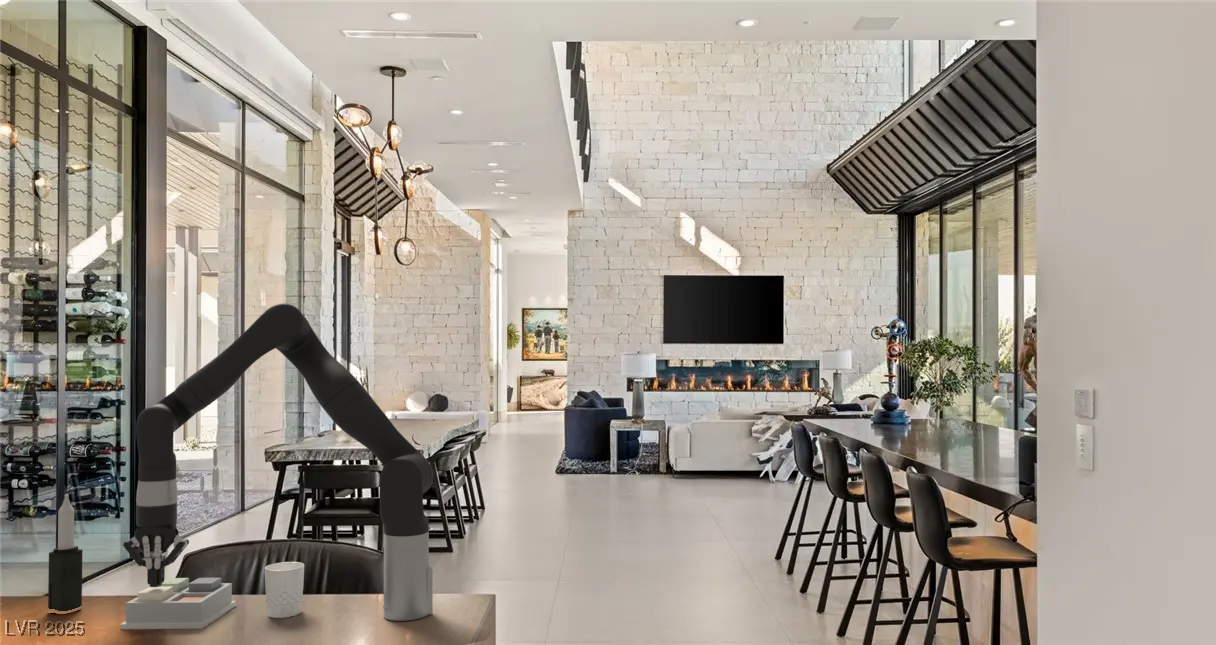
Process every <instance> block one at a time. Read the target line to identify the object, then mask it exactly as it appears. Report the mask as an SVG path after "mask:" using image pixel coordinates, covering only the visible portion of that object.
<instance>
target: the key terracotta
mask: <svg viewBox="0 0 1216 645" xmlns="http://www.w3.org/2000/svg"><path fill="white" fill-rule="evenodd" d="M202 598H204V597H184V598H182V599H180V600H178V601H199V600H201V599H202Z"/></svg>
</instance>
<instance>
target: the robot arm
mask: <svg viewBox="0 0 1216 645" xmlns="http://www.w3.org/2000/svg"><path fill="white" fill-rule="evenodd" d="M275 349H276V350H277V351H279V352H280V354H282V355H283V356H284V357H285V358H286V359H287V360H288V361H289V362H290V363H291V364H292V365H293V366H294V367H295V368H296V369H297V370H298V372H300V374H301V375H302V376H303V379H304V380H305V382H306V384H307V385H308V388H310V391H311V392H312V394H313V396H314V398H315V399H316V401H317V402H318V404H319V405H320V406H321V408H322V410H324V411H325V413H326V414H327V416H328V417H329V418H330V419H331V420H332V422H334V424H335V425H337V426H338V428H340V429H341V430H342V431H343V432H344V433H346V435H348V436H349V437H351V438H352V439H354V441H357V442H358V443H360V444H361V445H362V446H364V447H366V449H368V450H369V452H371V453H372V454H373V455H374V456H375V457H376V458H377V459H378V461H379V462H380V464H382V466H383V468H382V469H381V472H380V476H379V511H380V512H379V514H380V520H381V522H382V524H383V605H382V606H383V617H384V619H386V620H389V621H397V622H398V621H399V622H400V621H401V622H402V621H404V622H405V621H413V620H414V621H415V620H419V619H423V618H425V617H427V616H429V615H433V613H434V612H433V610H434V609H433V604H434V602H433V596H434V594H433V593H434V591H433V589H434V587H433V585H434V584H433V574H434V573H433V567H430V566H429V565H430V564H429V563H430V562H429V559H430V557H429V552H430V550H429V549H430V546H429V541H430V539H429V537H430V536H429V532H430V531H429V530H430V526H429V525H430V523H429V522H430V520H429V517H427V516H426V515H425V513H424V497H423V496H424V494H425V493H426V492H428V491H429V489H430V488H431V487H432V485H433V482H434V470H433V468H432V466H431V464H430V462H429V460H428V459H427V458H426V457H425V456H424V455H423V454H422V453H421V452H420V451H419V450H418V449H417V448H416V447H415V446H414V445H413V444H412V443H411V442H409V441H408V440H407V439H406V438H405V437H404V436H403V435H402V433H401V432H400V431H399V430H398V429H397V428H396V426H394V424H393V423H392V420H390V419H389V417H388V416H387V415H386V414H385V412H384V411H383V410H382V409H381V407H380V406H379V405H378V404H377V402H376V401H375V400H374V399H373V397H372V396H371V395H370V394H369V392H368V391H367V389H365V387H364V386H363V384H361V383H360V381H359V380H358V379H357V378H356V377H355V376H354V375H353V374H352V372H350V371H349V370H348V369H347V368H346V367H345V366H344V365H343V364H342V363H341V362H339V361H338V360H337V359H336V358H334V357H333V356H332V354H331V353H330V352H329V351H328V350H327V348H326V346H324V344H323V343H322V342H321V340H320V338H319V337H318V335H317V334H316V332H315V331H314V328H312V326H311V324H310V322H309V320H308V319H307V318H306V316H305V315H304V314H303V313H302V311H301V310H300V309H298V307H296V306H294V305H293V304H291V303H286V302H284V303H283V302H280V303H276V304H274V305H272V306H270V307H269V308H267V309H266V310H264V312H263V313H262V314H261V315H260V316H259V317H257V319H256V320H255V321H254V322H253V323H251V325H250V326H249V327H248V328H247V329H245V331H244V332H243V333H242V334H241V335H240V336H238V338H237V339H236V340H234V341H233V342H232V343H230V345H229V346H227V348H225V349H224V350H223V351H222V352H221V353H219V354H218V355H217V356H216V357H214V358H213V359H212V360H210V361H209V362H208V363H207V364H205V365H203V366H202V367H201V368H200V369H199V370H197V371H196V372H194V373H193V374H191V375H190V376H189V377H188V378H186V379H185V380H184V381H182V382H181V383H180V384H179V385H178V386H177V387H176V389H175V390H173V391H172V392H171V393H169V394H168V395H166V396H165V397H163V398H162V399H161V400H159V401H158V402H156V403H155V404H152V405H151V406H150V405H149V406H147V407H146V408H144V409H143V410H141V411H140V413H139V415H138V417H137V420H136V427H135V428H136V430H135V431H136V432H135V433H136V444H137V451H138V468H137V469H138V470H137V471H138V475H137V476H138V478H137V487H136V488H137V489H136V497H135V501H136V504H135V506H136V509H135V510H136V511H135V521H136V522H135V524H136V525H135V526H136V529H135V531H134V535H133V537H132V538H130V539H129V540H127V541H125V542H123V548H124V549H125V550H126V551H127V553H128V554H129V555H130V556H131V557H132V560H134V562H135V563H136V564H137V566H138V567H145V568H146V569H147V573H146V574H147V576H146V577H147V580H146V581H147V582H146V583H147V584H148V585H149V587H159V586H161V585H162V583H163V582H164V579H165V577H166V576H165V575H166V574H165V572H166V571H165V570H166V569H165V568H166V567H167V566H169V565H172V564H173V563H174V562H176V561H177V559H178V558H179V556H180V555H181V554H182V552H183V551H184V550H185V549H186V548H187V547H188V545H189V544H190V540H189V539H187V538H185V539H184V538H183V537H182V536H180V534H179V533H180V532H179V530H178V528H177V522H178V485H177V484H178V483H177V458H176V457H177V456H176V453H175V452H174V433H175V432H176V431H178V429H179V428H181V427H182V426H183V425H184V424H186V423H187V422H188V421H189V420H190V419H191V418H193V416H195V415H196V414H197V413H199V412H201V411H202V410H204V409H205V408H207V407H208V406H210V405H211V404H212V403H214V402H215V401H216V400H218V399H219V398H220V397H221V396H224V394H225V393H226V392H228V391H229V390H230V389H231V388H232V387H233V386H234V385H236V383H237V382H238V381H239V379H240V378H241V377H242V375H244V373H245V372H246V371H247V370H248V369H249V368H250V367H251V366H252V365H253V364H255V362H257V361H258V360H259V359H260V358H262V357H264V355H266V354H268V353H269V352H271V351H273V350H275ZM172 544H173V545H172ZM171 546H173V549H172V550H171V551H170V553H169V549H170V547H171Z"/></svg>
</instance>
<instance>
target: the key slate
mask: <svg viewBox="0 0 1216 645" xmlns="http://www.w3.org/2000/svg"><path fill="white" fill-rule="evenodd" d="M221 583H222V577H198V578H196V579H194V580H193V581H191V582H189V592H214V591H215V590H217V589H219V588H220V587H221Z"/></svg>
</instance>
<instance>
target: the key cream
mask: <svg viewBox="0 0 1216 645" xmlns="http://www.w3.org/2000/svg"><path fill="white" fill-rule="evenodd" d="M172 596H173V586H167V587H150V586H149V587H146V588H145V589H143V590H141V591H139V592H137V597H138V602H146V601H165V600H167V599H168V598H170V597H172Z"/></svg>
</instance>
